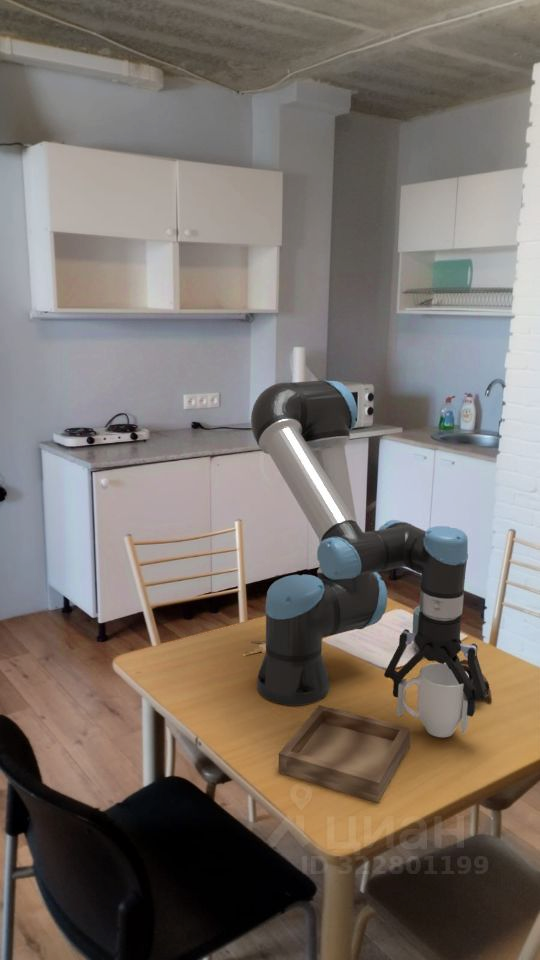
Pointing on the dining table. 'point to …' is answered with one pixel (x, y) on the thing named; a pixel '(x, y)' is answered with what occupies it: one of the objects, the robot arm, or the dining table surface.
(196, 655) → the dining table surface
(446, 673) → the mug
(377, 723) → the tray
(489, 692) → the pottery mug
